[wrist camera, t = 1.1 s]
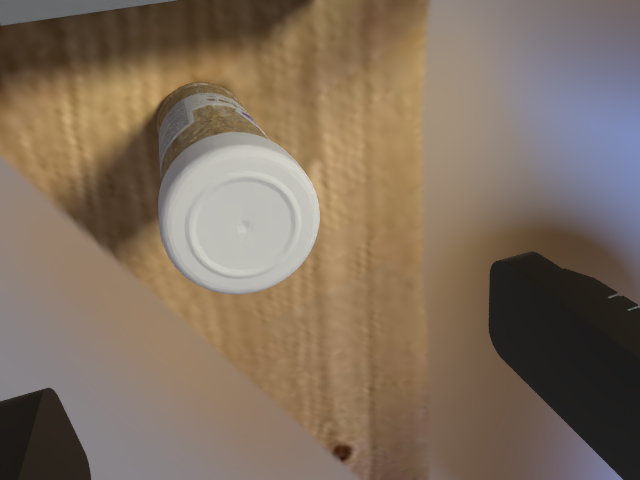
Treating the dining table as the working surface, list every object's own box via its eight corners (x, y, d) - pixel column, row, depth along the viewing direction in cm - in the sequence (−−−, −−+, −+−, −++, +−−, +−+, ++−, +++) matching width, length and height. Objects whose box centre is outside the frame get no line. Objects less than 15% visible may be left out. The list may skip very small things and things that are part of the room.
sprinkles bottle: (263, 113, 26) (354, 200, 15) (216, 186, 27) (267, 322, 16) (185, 60, 24) (218, 112, 13) (136, 140, 25) (126, 258, 13)
